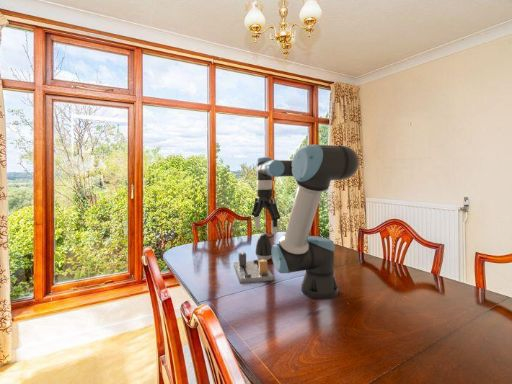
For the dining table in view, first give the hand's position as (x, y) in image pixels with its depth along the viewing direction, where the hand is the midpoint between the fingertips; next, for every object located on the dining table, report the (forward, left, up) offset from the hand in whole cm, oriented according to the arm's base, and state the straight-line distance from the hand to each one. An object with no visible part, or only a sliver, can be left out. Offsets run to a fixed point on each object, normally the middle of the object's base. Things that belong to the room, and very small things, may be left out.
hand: (265, 231), depth 141 cm
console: (+2, +7, -21) cm, 22 cm away
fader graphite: (+9, +11, -19) cm, 24 cm away
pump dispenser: (+22, -4, -22) cm, 31 cm away
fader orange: (-5, +3, -19) cm, 20 cm away
